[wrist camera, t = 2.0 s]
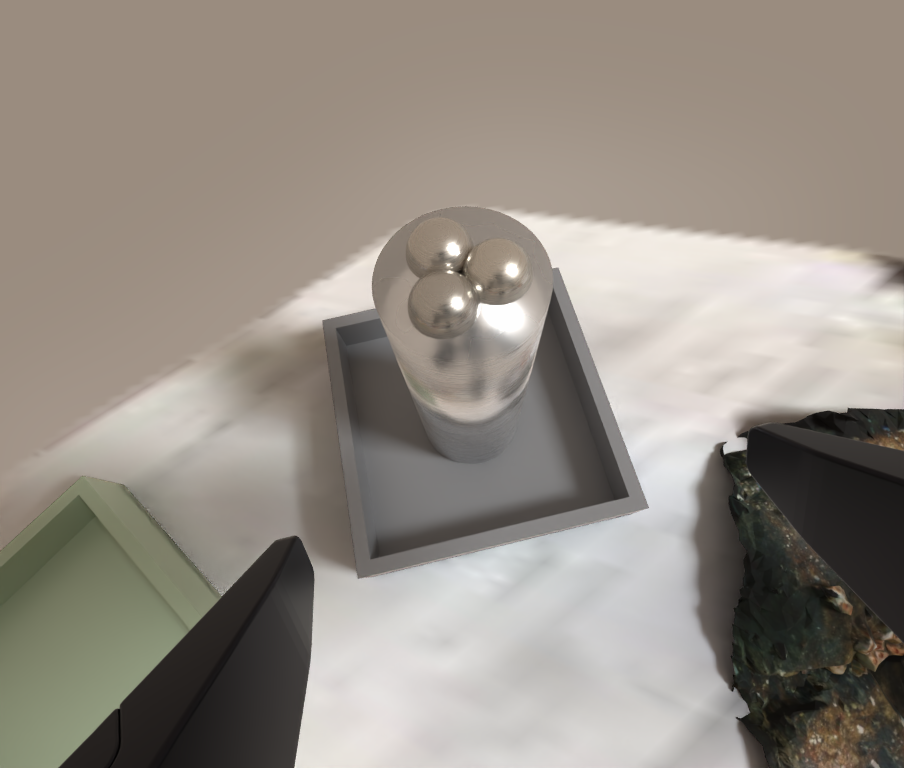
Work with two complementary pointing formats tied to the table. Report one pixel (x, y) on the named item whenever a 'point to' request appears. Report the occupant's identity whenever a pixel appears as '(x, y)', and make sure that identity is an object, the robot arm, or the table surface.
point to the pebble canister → (464, 323)
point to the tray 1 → (86, 617)
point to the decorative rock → (813, 631)
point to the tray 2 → (473, 485)
